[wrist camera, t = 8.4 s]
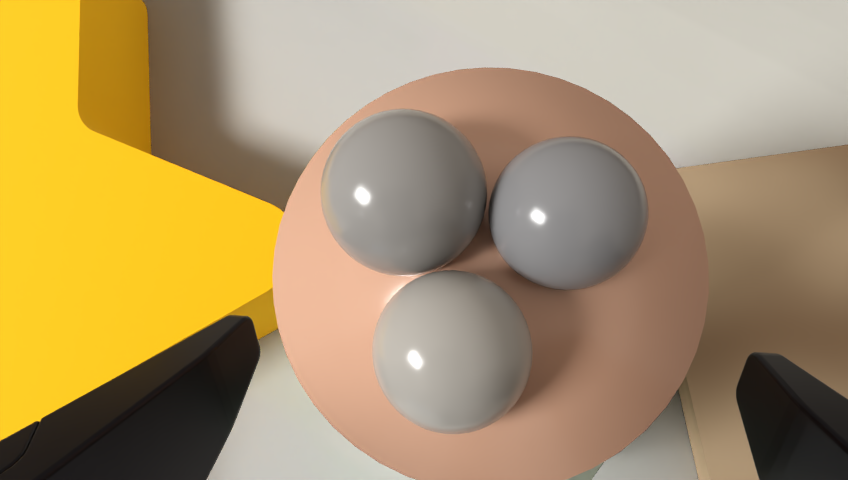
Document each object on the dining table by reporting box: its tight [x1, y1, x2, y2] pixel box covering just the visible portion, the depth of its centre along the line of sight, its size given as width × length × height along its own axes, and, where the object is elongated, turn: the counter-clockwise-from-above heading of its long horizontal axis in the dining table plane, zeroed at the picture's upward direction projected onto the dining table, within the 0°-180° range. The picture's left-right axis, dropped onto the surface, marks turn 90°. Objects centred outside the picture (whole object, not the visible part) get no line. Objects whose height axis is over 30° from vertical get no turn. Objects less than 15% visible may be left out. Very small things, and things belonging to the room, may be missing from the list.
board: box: [676, 145, 848, 480], centre depth 15 cm, size 14×10×1 cm
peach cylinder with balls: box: [272, 68, 709, 480], centre depth 11 cm, size 5×5×13 cm
